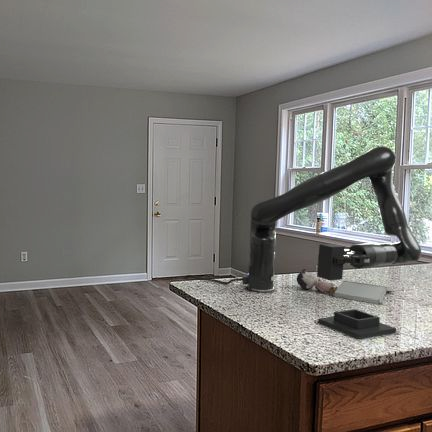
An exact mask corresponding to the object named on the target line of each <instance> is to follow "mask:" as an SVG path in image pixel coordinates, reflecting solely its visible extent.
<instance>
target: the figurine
mask: <svg viewBox="0 0 432 432" xmlns="http://www.w3.org/2000/svg"><path fill="white" fill-rule="evenodd" d="M296 282H297V285H299V287H300V288H301V289H303V290H311V289H313V288H314V289H315V290H316V291H320V292H322V293H324V294H325V295H326V294H334V292H335V291H336V290H337V288H338V287H339V286H337V285H336V286H335V283H334V282H333V283H332V282H329V281H323V278H318V277H317V274H316V273H313V272H310V271H308V270H307V268H303V269H302V270H301V272H299V273H298V274H297V276H296Z"/></svg>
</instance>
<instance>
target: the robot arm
mask: <svg viewBox="0 0 432 432" xmlns="http://www.w3.org/2000/svg"><path fill="white" fill-rule="evenodd" d="M396 162H397V154H396V153H395V151H394V150H393V149H392V148H390V147H388V146H375V147H372V148H371V149H369V150H367V151H366V152H365V153H363V154H361V155H359V156H358V157H355V158H354V159H352V160H350V161H348V162H346V163H344V164H341V165H338V166H335V167H332V168H330V169H328V170H326V171H323V172H320V173H319V174H316V175H314V176H312V177H310V178H307V179H306V180H303V181H302V182H301V183H298V184H297V185H296V186H294V187H293V188H290V189H289V190H288V191H286V192H285V193H282V194H280V195H278V196H275V197H272V198H268V199H266V200H259V201H257V202H256V203H254V204H253V206H252V207H251V209H250V215H249V216H250V224H249V225H250V229H249V248H248V266H247V267H248V268H247V269H248V271H247V274H246V273H245V274H242V277H241V278H233V279H229V280H227V281H222V280H219V279H216V278H215V279H214V278H206V277H199V276H195V275H193V274H187V275H185V276H184V277H183V279H187V278H193V279H196V280H199V281H209V282H215V283H218V284H223V285H229V284H231V283H232V282H239V281H242V285H247V290H248V291H253V292H258V293H259V292H260V293H269V292H273V291H274V289H275V288H274V286H275V285H274V282H275V281H274V280H276V279H275V278H276V275H275V260H276V232H277V231H276V230H277V229H276V228H277V221H279V220H281V219H282V218H284V217H286V216H288V215H290V214H293V213H294V212H297V211H300V210H303V209H306V208H309V207H312V206H314V205H317V204H319V203H322V202H324V201H327V200H329V199H331V198H333V197H335V196H337V195H338V194H341V193H342V192H343V191H345V190H347V189H349V187H351V186H353V185H354V184H356V183H358V182H360V181H362V180H364V179H367V178H368V179H369V181H370V183H371V186H372V188H373V191H374V194H375V197H376V201H377V205H378V210H379V214H380V219H381V222H382V226H383V230H384V233H385V234H386V235H387V236H389V237H397V239H398V240H399V241H398V242H393V243H387V242H381V243H373V242H369V243H368V242H367V243H355V244H352V245H351V246H349V248H348V249H345V252H344V256H335V257H333V264H343V265H346V266H347V265H348V266H349V265H350V266H351V267H353V268H355V269H367V268H376V267H379V266H387V265H392V266H393V265H402V264H408V263H414V262H417V261H419V260H420V258H421V256H422V249H421V246H420V244H419V242H418V240H417V239H416V237H415V236H414V234H413V231H412V230H411V229H410V227H409V224H408V219H407V217H406V212H405V209H404V206H403V203H402V202H401V200H400V198H399V196H398V193H397V192H396V188H395V184H394V181H393V168H394V166H395V165H396ZM317 256H318V257H317V259H318V258H319V254H318V255H317Z"/></svg>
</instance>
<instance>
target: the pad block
mask: <svg viewBox="0 0 432 432" xmlns="http://www.w3.org/2000/svg"><path fill="white" fill-rule="evenodd" d="M318 247H319V248H318V255H319V258H318V257H317V260H318V261H317V271H316V276H317V278H319V279H322V280H327V281H339V280H342V281H343V273H344V264H333V257H335V256H344V252H345V250H346V247H345V246H344V245H339V244H335V243H321V244H320V243H319V246H318Z"/></svg>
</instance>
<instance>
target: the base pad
mask: <svg viewBox="0 0 432 432" xmlns="http://www.w3.org/2000/svg"><path fill="white" fill-rule="evenodd" d="M380 320H381V317H380V316H377V315H374V314H371V313H368V312H365V311H362V310H359V309H357V308H353V309H346V310H345V309H344V310H337V311H334V312H333V315H332V316H327V317H320V318H318V319H317V323H318V324H321V325H323V326H326V327H328V328H331V329H333V330H335V331H338V332H339V333H343V334H345V335H348V336H350V337H353V338H355V339H357V340H361V339H368V338H372V337H377V336H384V335H389V334H396V333H397V327H394V326H390V325H388V324H385V323H382V322H380Z"/></svg>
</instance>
